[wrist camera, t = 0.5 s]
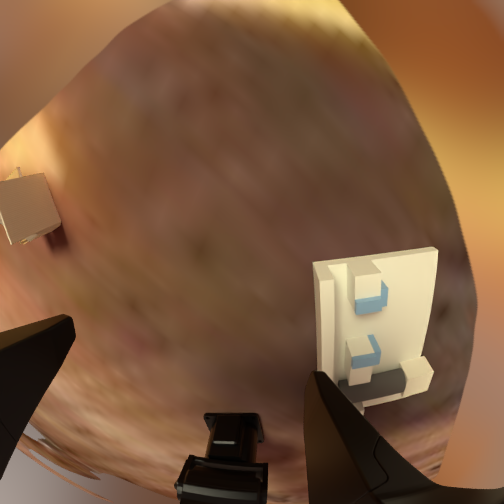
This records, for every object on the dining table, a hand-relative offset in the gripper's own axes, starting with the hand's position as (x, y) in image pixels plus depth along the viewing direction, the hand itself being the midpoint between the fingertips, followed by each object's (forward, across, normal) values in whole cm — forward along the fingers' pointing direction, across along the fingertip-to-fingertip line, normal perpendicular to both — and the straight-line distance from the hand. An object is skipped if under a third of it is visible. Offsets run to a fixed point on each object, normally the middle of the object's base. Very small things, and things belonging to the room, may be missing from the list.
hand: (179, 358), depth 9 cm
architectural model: (+14, +19, -1) cm, 24 cm away
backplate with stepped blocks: (+14, -14, +7) cm, 21 cm away
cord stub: (+13, -16, +11) cm, 23 cm away
